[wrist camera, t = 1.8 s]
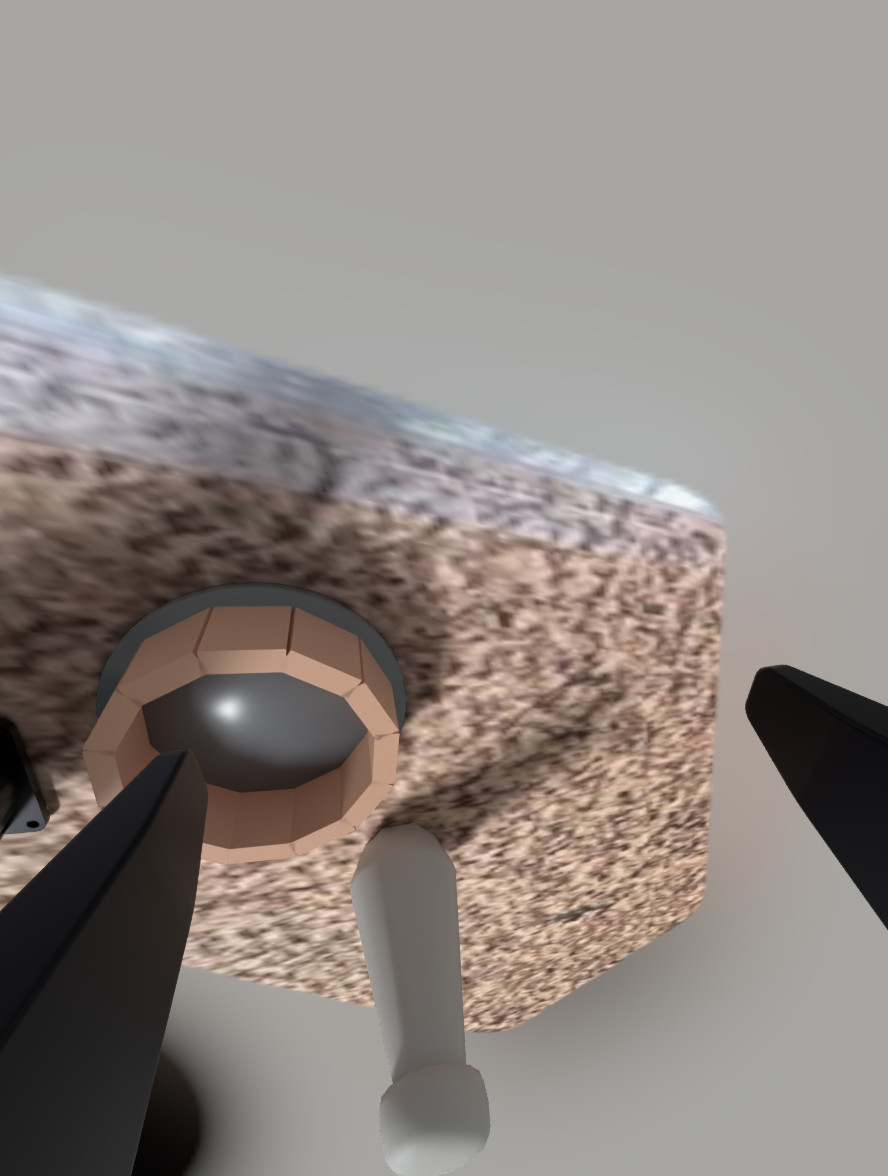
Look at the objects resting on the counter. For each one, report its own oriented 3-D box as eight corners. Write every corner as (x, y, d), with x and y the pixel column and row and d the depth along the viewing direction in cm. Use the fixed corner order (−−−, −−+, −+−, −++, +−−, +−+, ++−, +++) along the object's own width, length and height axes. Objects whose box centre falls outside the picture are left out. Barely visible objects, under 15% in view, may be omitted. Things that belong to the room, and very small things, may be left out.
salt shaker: (366, 888, 31) (386, 1210, 20) (335, 833, 28) (337, 1175, 17) (457, 857, 32) (526, 1158, 20) (435, 800, 29) (501, 1115, 18)
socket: (395, 794, 28) (403, 855, 25) (131, 816, 25) (103, 888, 22) (415, 583, 22) (429, 629, 19) (69, 581, 19) (18, 634, 16)
